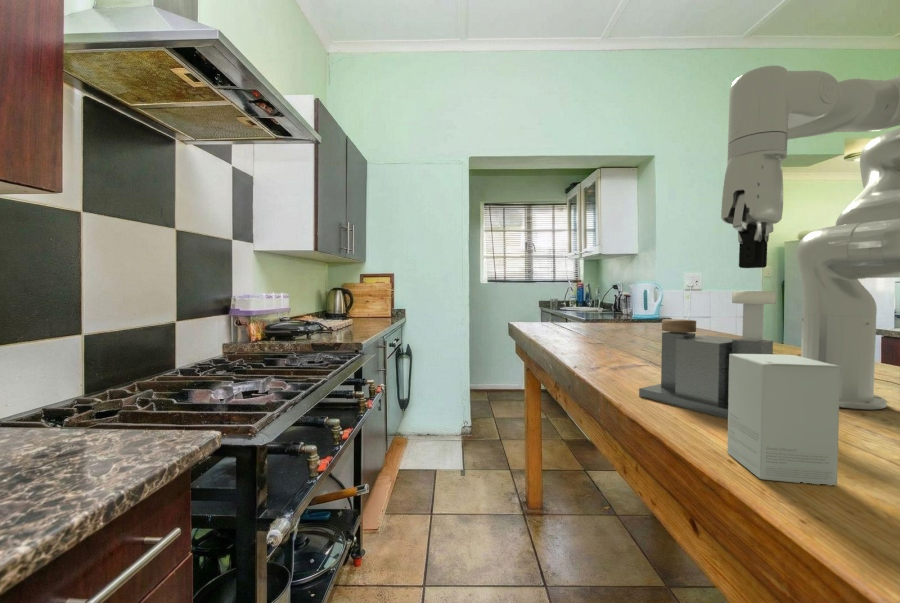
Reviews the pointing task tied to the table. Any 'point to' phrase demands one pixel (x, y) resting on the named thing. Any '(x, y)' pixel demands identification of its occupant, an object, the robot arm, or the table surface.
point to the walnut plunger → (678, 326)
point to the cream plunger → (753, 311)
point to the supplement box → (784, 417)
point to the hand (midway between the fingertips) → (752, 267)
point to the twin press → (699, 371)
